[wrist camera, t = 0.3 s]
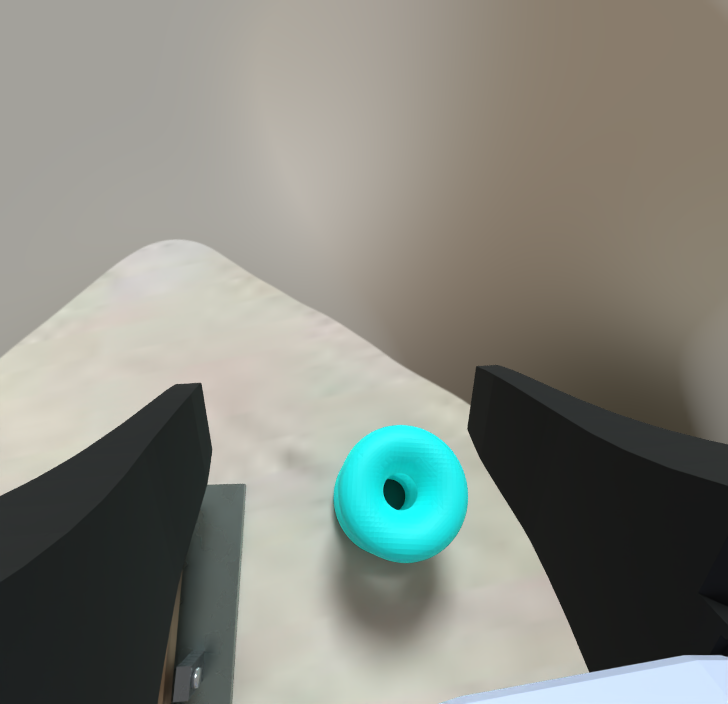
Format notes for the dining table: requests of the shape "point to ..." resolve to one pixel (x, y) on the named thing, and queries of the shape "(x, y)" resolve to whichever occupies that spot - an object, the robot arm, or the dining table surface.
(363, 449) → the donuts
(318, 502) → the dining table surface
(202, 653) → the stand
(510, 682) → the dining table surface
